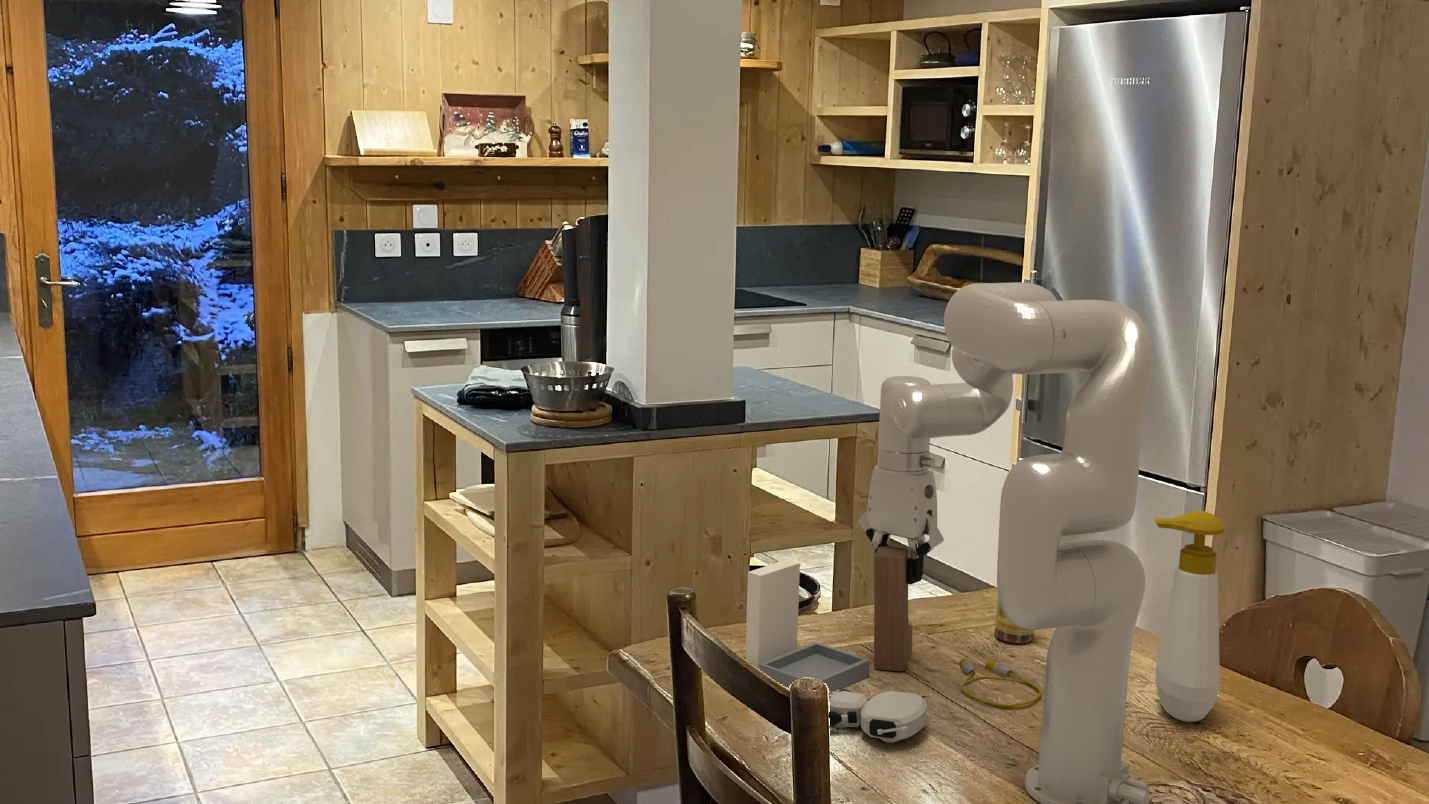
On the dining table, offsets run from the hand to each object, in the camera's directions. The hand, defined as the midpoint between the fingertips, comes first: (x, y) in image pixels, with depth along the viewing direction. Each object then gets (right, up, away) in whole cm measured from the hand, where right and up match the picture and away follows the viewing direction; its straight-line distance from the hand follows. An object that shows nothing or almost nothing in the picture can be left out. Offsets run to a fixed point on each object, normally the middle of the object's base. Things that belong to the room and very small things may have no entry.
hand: (897, 576), depth 202 cm
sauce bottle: (+21, -12, +13) cm, 27 cm away
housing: (-15, -14, -3) cm, 21 cm away
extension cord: (+14, -16, -6) cm, 22 cm away
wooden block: (0, -13, +3) cm, 14 cm away
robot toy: (-7, -18, -21) cm, 29 cm away
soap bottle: (+37, -17, -14) cm, 43 cm away
